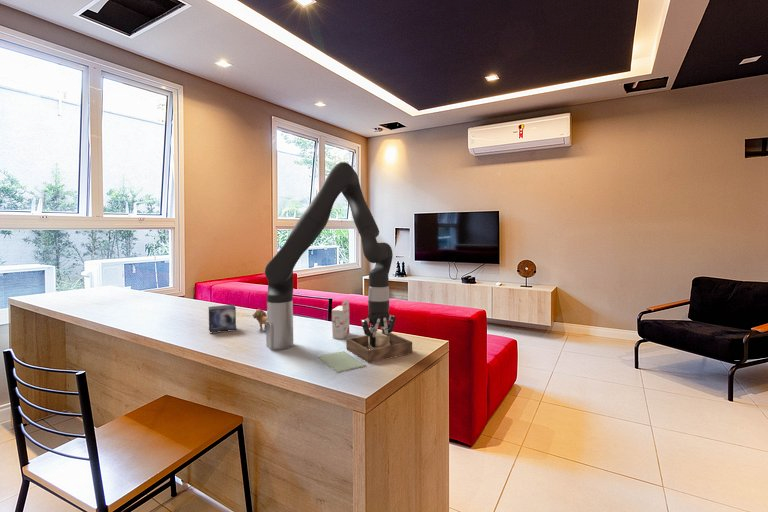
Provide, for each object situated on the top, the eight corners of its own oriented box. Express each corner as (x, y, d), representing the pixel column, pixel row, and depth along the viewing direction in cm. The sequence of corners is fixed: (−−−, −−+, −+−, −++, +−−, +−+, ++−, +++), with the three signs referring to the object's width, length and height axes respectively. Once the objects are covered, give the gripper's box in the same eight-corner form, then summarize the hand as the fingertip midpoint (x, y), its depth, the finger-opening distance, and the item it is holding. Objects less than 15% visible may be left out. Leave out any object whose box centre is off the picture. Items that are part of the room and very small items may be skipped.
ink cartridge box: (338, 332, 156) (338, 298, 155) (349, 333, 155) (349, 298, 154) (331, 338, 147) (331, 302, 146) (343, 339, 146) (343, 302, 145)
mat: (337, 372, 112) (337, 371, 112) (317, 357, 125) (317, 356, 125) (366, 366, 117) (366, 364, 117) (343, 352, 131) (343, 350, 131)
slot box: (368, 362, 120) (368, 350, 120) (346, 349, 133) (346, 338, 133) (412, 352, 130) (412, 341, 129) (387, 341, 143) (387, 331, 143)
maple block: (379, 355, 127) (379, 338, 127) (368, 349, 134) (368, 333, 133) (389, 353, 129) (389, 336, 129) (377, 347, 136) (377, 331, 136)
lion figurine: (251, 329, 160) (250, 309, 159) (262, 327, 164) (261, 307, 164) (270, 335, 151) (270, 314, 150) (281, 333, 155) (281, 312, 154)
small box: (209, 334, 154) (208, 309, 153) (208, 330, 159) (207, 306, 159) (236, 330, 159) (235, 306, 158) (234, 327, 164) (234, 304, 164)
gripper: (366, 302, 123) (366, 352, 124) (401, 298, 131) (400, 345, 132) (356, 298, 129) (356, 346, 131) (389, 295, 137) (389, 339, 138)
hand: (378, 345), depth 131 cm, fingers closed on maple block, 4 cm apart
